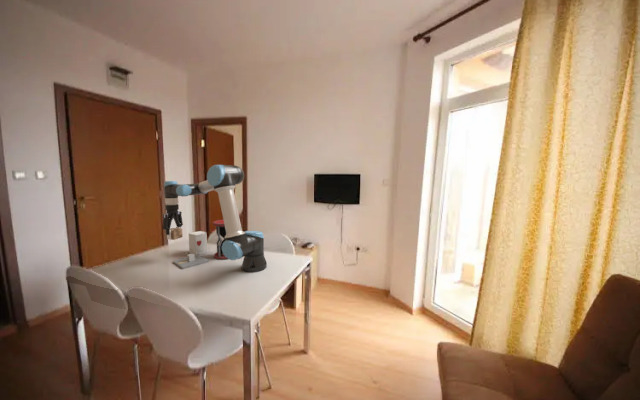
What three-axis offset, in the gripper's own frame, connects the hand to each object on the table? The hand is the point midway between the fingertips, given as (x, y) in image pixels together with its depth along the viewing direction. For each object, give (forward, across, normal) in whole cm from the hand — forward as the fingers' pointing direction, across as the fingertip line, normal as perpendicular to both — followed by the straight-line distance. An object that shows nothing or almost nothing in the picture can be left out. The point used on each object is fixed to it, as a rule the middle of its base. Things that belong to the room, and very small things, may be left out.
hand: (173, 237), depth 164 cm
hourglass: (+15, -14, +30) cm, 36 cm away
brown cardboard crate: (0, 0, 0) cm, 0 cm away
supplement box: (+15, -15, +6) cm, 22 cm away
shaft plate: (+15, +3, +15) cm, 21 cm away
